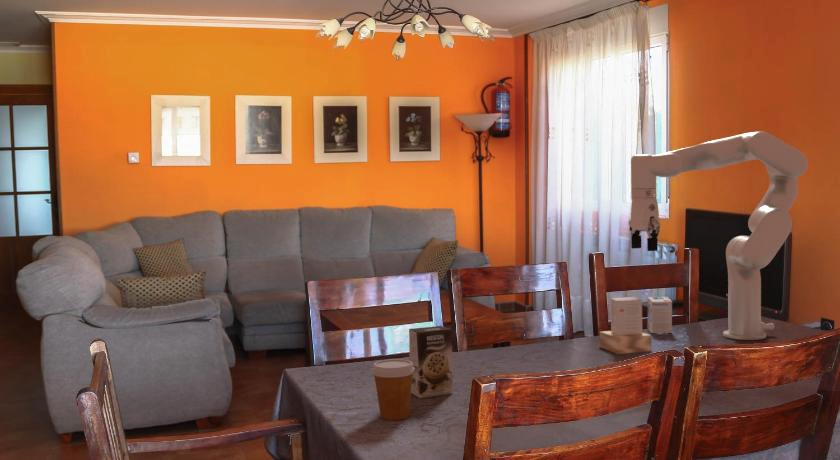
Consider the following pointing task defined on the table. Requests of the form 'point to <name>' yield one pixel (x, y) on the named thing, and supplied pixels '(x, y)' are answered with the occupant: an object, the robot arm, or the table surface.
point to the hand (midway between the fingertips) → (644, 249)
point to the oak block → (625, 342)
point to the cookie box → (431, 361)
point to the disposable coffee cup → (393, 387)
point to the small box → (626, 316)
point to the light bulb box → (659, 315)
